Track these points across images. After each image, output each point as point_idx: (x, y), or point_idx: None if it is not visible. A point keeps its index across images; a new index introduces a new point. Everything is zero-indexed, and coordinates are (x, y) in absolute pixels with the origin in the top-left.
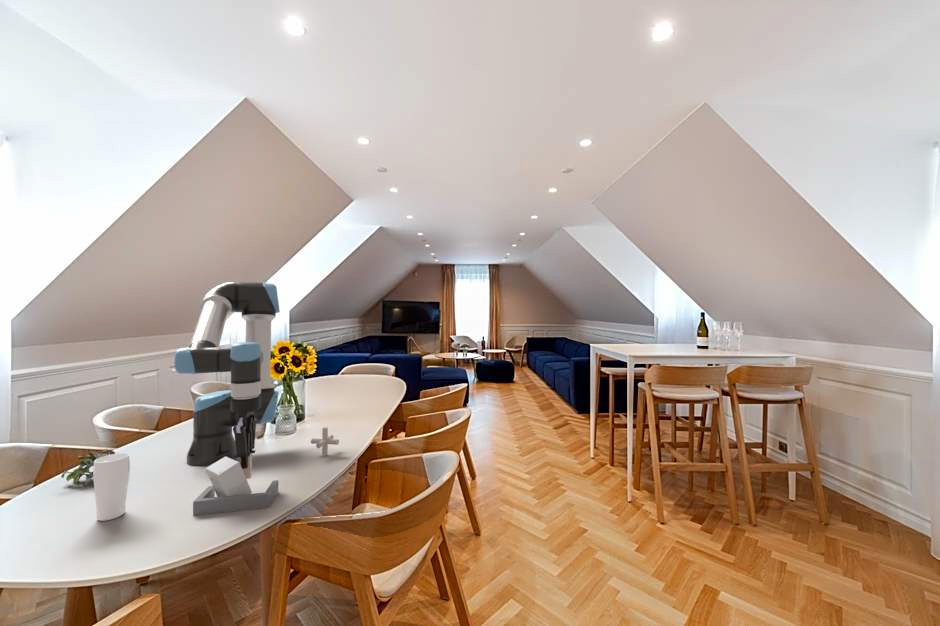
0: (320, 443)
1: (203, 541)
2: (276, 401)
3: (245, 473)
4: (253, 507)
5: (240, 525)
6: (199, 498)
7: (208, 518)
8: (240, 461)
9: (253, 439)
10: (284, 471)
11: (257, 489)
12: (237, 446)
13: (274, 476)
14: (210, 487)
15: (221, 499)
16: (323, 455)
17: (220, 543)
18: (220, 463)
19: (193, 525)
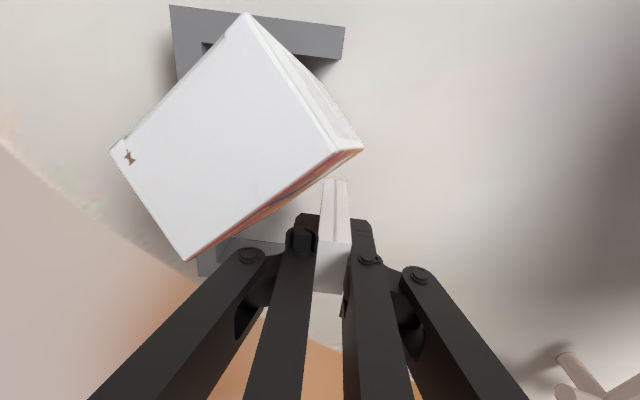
0: None
1: (28, 115)
2: None
3: (320, 211)
4: None
5: (119, 195)
6: (201, 26)
7: (168, 87)
8: (319, 225)
9: (415, 381)
10: (488, 263)
11: (362, 202)
12: (170, 330)
13: (458, 239)
14: (324, 42)
15: None
16: (561, 356)
17: (25, 164)
18: (238, 132)
19: (121, 46)
